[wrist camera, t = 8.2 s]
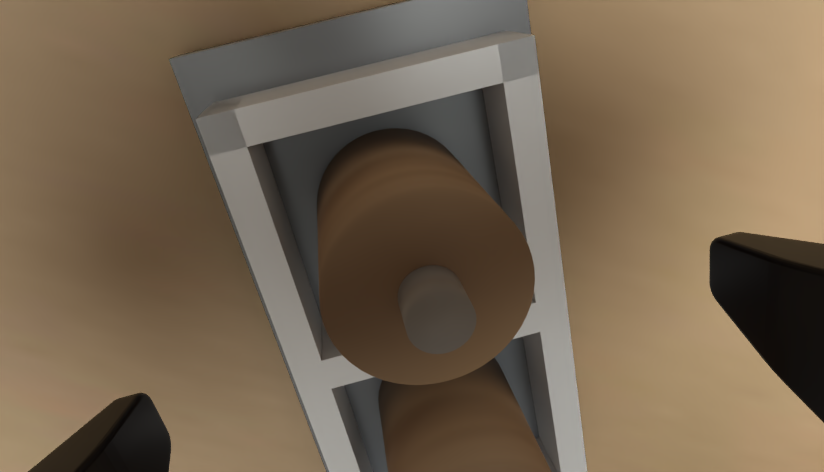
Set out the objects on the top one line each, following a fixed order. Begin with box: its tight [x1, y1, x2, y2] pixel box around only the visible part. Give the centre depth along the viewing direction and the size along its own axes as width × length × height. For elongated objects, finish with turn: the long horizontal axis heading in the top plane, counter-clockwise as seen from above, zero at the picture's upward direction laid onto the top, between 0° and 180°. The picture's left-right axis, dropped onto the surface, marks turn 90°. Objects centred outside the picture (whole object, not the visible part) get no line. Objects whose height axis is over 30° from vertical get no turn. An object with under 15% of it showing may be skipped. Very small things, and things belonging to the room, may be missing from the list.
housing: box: [169, 0, 587, 472], centre depth 16 cm, size 16×8×3 cm, turn 13°
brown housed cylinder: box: [378, 358, 551, 472], centre depth 15 cm, size 4×4×6 cm
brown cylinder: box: [317, 128, 535, 385], centre depth 12 cm, size 4×4×6 cm
